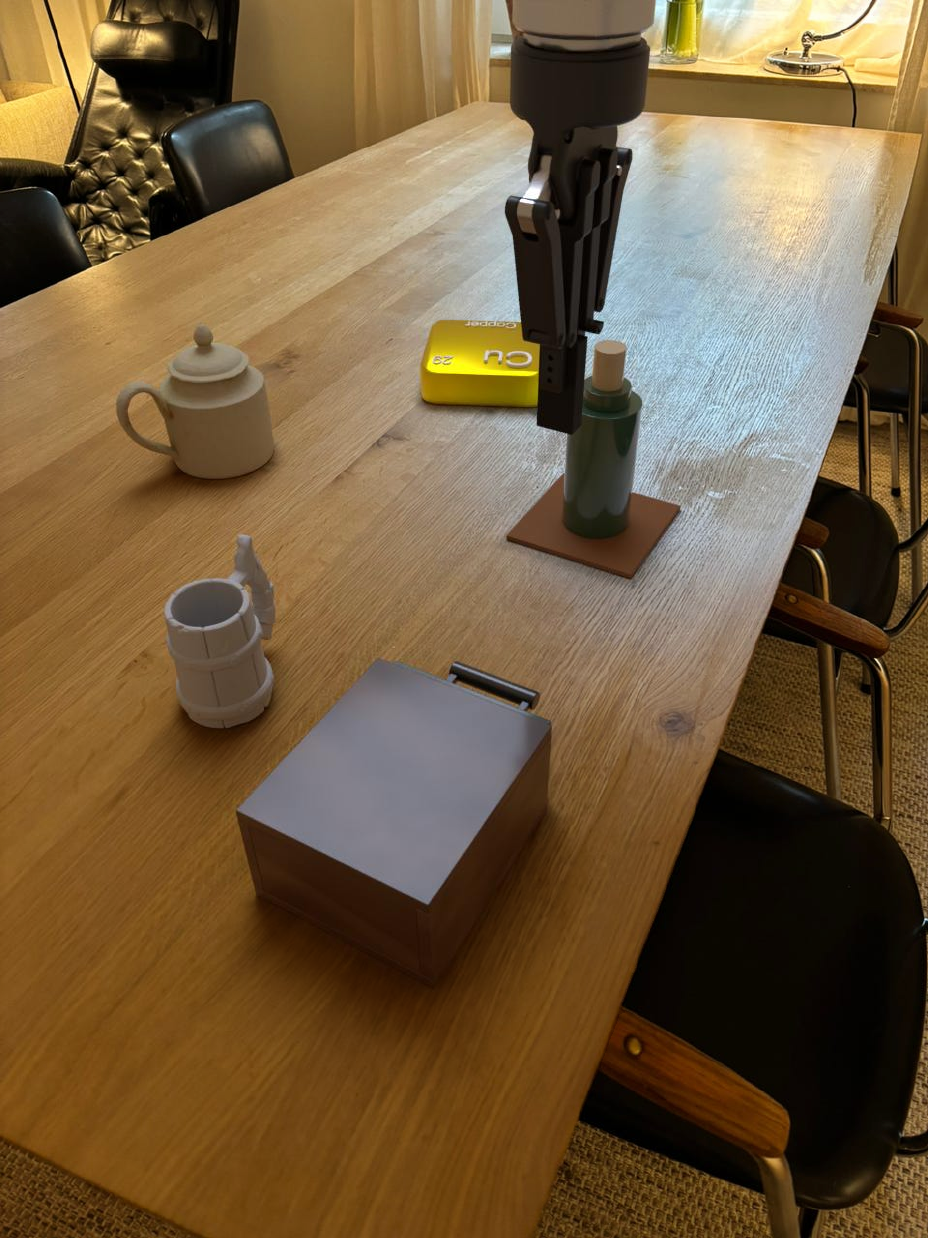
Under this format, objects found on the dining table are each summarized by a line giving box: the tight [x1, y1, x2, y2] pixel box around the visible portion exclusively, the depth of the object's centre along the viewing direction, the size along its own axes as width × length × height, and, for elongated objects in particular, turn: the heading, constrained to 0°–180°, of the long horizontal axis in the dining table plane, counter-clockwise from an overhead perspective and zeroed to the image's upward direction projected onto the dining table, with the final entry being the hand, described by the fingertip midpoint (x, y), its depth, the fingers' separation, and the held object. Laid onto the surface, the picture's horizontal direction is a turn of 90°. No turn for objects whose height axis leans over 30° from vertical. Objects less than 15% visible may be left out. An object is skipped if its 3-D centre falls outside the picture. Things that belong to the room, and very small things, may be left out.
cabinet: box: [235, 657, 553, 989], centre depth 66 cm, size 16×14×9 cm
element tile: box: [419, 319, 540, 408], centre depth 121 cm, size 15×15×5 cm
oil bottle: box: [562, 339, 644, 539], centre depth 92 cm, size 7×7×18 cm
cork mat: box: [505, 472, 681, 579], centre depth 98 cm, size 13×13×1 cm
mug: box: [163, 534, 276, 729], centre depth 78 cm, size 8×12×12 cm, turn 159°
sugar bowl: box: [115, 322, 275, 480], centre depth 103 cm, size 15×11×15 cm
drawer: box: [392, 660, 552, 726], centre depth 68 cm, size 19×13×7 cm
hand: (558, 425), depth 68 cm, fingers closed
